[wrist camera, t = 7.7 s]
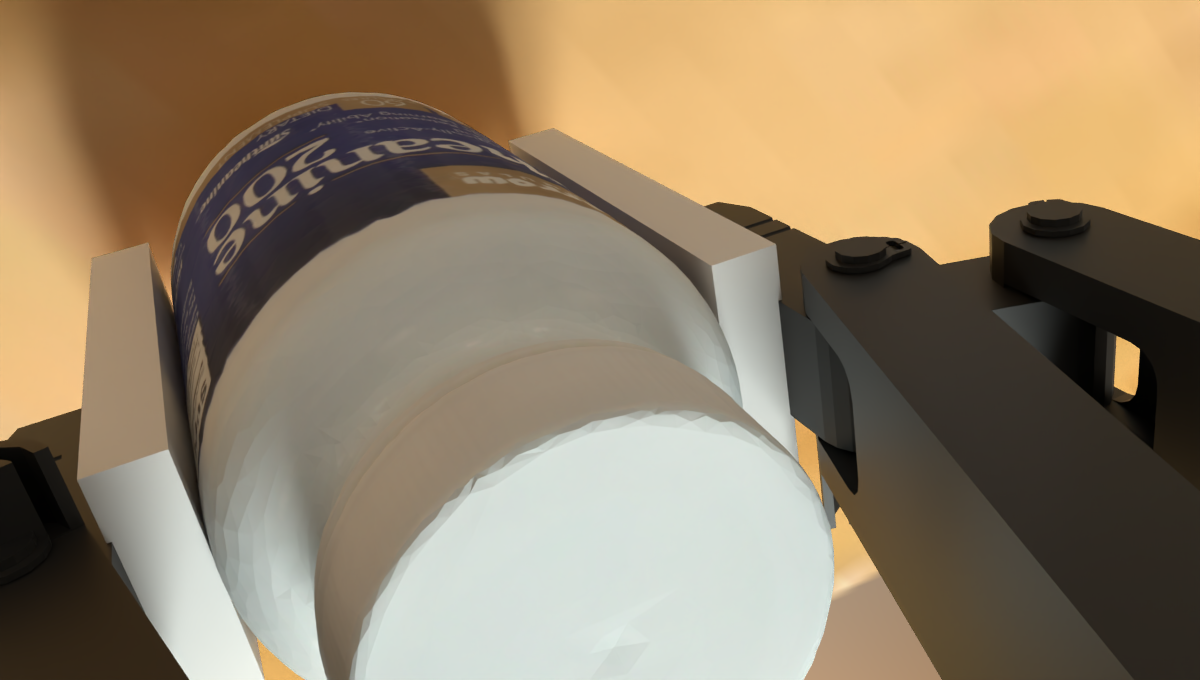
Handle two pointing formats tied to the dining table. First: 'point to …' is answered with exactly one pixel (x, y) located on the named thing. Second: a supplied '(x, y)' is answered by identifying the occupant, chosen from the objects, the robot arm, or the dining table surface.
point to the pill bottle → (473, 421)
